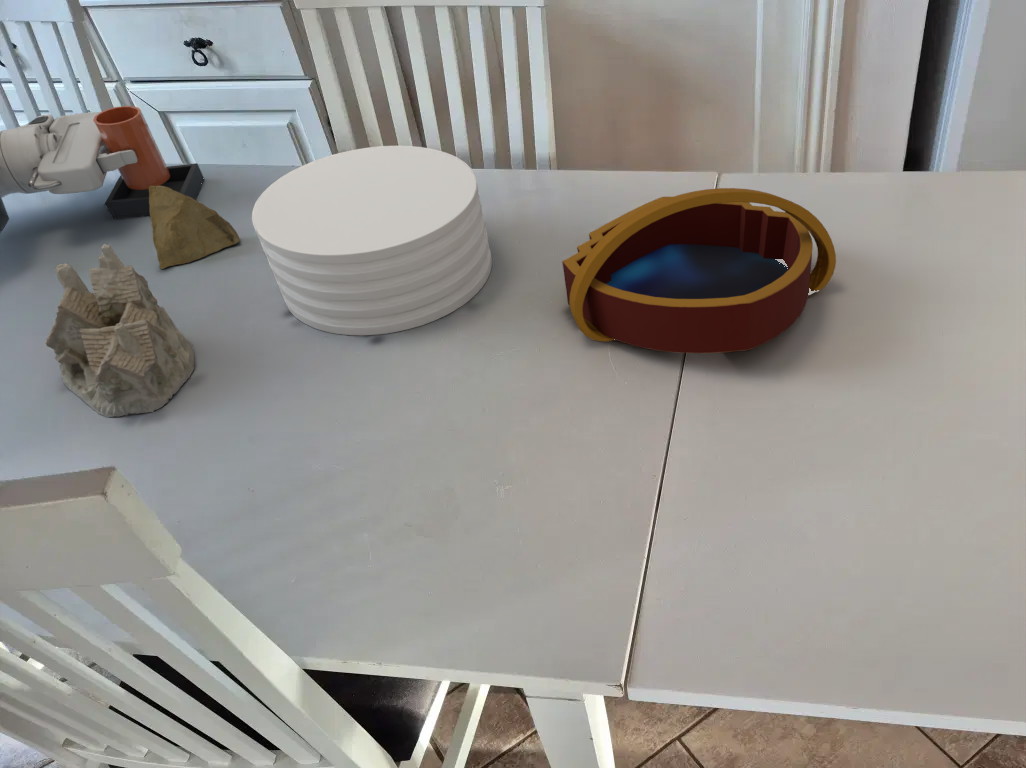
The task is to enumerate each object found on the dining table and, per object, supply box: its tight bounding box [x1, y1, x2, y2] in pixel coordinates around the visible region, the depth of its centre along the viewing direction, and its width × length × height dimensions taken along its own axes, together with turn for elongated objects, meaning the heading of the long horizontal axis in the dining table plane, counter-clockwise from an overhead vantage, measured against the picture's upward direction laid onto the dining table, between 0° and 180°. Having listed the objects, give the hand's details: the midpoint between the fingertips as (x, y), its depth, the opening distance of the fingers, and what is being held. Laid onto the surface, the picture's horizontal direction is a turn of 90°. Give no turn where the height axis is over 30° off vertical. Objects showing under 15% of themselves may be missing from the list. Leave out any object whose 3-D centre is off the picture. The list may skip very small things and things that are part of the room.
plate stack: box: [251, 145, 493, 336], centre depth 110 cm, size 28×28×12 cm
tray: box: [104, 162, 205, 221], centre depth 131 cm, size 12×11×3 cm
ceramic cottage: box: [44, 243, 196, 418], centre depth 96 cm, size 16×16×15 cm
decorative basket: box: [561, 187, 837, 354], centre depth 101 cm, size 34×29×15 cm
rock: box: [149, 185, 241, 270], centre depth 118 cm, size 11×9×10 cm
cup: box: [93, 105, 170, 190], centre depth 126 cm, size 6×6×10 cm
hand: (139, 143), depth 126 cm, fingers closed on cup, 6 cm apart
